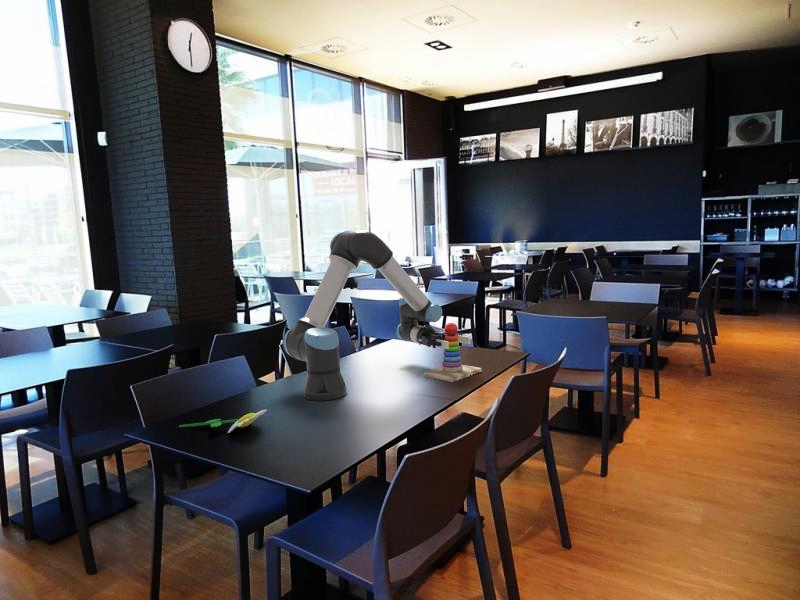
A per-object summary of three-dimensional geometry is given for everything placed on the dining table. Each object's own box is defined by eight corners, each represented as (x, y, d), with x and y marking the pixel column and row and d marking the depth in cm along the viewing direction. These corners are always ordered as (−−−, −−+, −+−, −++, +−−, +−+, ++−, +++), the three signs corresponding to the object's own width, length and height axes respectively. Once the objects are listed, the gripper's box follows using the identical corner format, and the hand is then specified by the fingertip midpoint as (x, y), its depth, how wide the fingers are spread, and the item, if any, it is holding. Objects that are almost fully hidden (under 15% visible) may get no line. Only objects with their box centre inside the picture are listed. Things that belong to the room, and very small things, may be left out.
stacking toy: (463, 372, 211) (461, 324, 209) (442, 373, 212) (440, 325, 209) (461, 367, 219) (459, 320, 217) (441, 368, 220) (439, 321, 217)
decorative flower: (167, 442, 165) (255, 433, 156) (164, 426, 165) (252, 417, 156) (194, 429, 177) (277, 420, 169) (191, 414, 177) (274, 405, 169)
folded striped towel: (452, 382, 205) (451, 378, 204) (424, 376, 214) (424, 372, 214) (481, 371, 217) (481, 368, 217) (453, 366, 227) (453, 363, 227)
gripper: (445, 340, 236) (481, 347, 218) (401, 348, 223) (436, 357, 205) (444, 322, 235) (480, 329, 217) (400, 330, 222) (435, 337, 204)
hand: (458, 343), depth 211 cm, fingers open, 10 cm apart
